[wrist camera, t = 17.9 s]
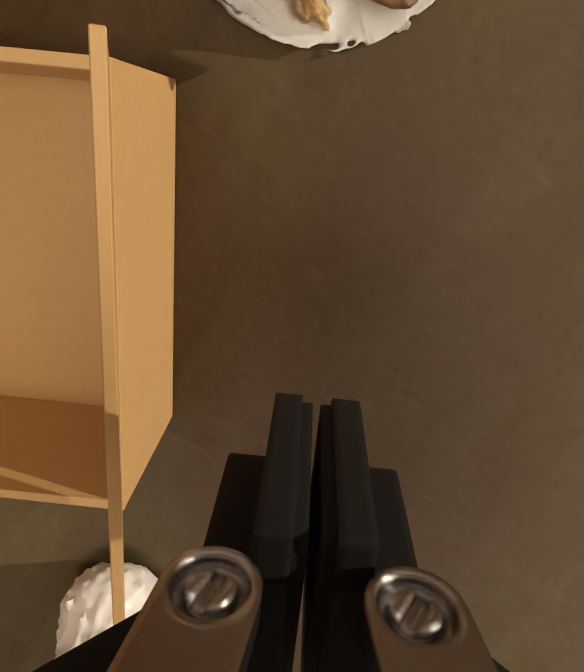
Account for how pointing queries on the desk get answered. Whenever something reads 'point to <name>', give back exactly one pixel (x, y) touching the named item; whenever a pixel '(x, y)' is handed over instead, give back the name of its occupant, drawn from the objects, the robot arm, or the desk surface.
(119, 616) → the flap
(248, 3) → the frog figurine
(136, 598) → the sitting furry creature
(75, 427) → the carton
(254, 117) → the desk surface
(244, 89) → the desk surface
